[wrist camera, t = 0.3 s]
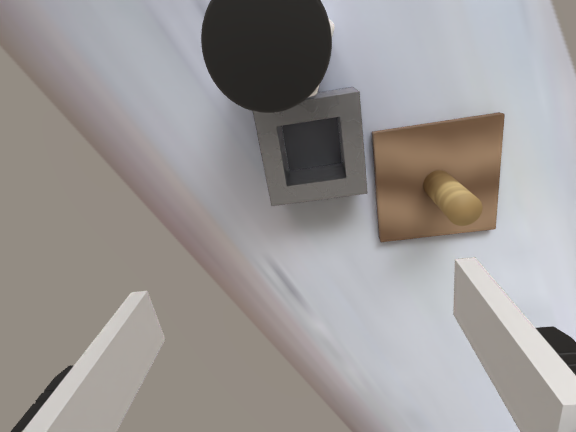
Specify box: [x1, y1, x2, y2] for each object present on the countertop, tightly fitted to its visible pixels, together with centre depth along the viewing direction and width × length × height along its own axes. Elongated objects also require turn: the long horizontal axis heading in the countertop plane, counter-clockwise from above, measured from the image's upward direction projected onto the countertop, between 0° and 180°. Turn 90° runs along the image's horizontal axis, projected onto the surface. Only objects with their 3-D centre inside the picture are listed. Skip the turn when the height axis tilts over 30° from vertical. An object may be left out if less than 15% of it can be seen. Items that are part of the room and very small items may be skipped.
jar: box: [201, 0, 335, 113], centre depth 27 cm, size 9×8×12 cm
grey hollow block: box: [253, 87, 367, 206], centre depth 34 cm, size 9×9×5 cm
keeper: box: [372, 113, 504, 242], centre depth 33 cm, size 12×12×8 cm
